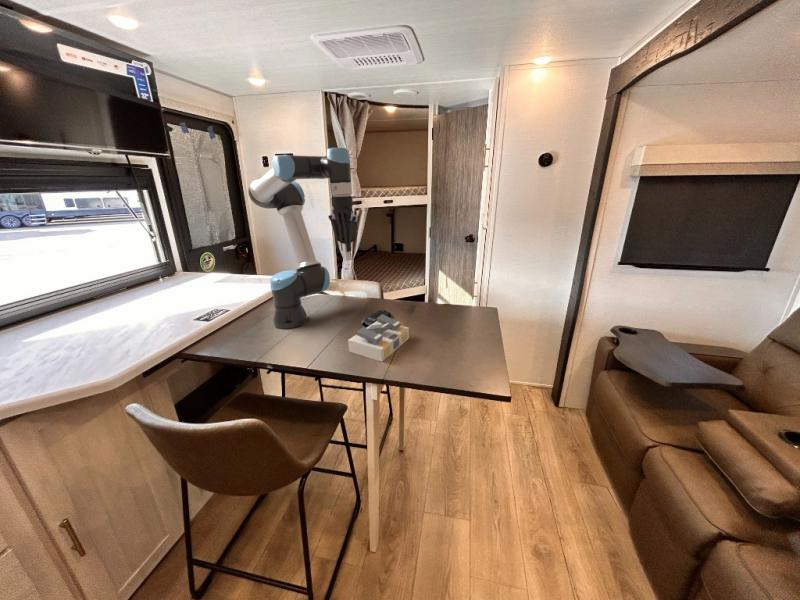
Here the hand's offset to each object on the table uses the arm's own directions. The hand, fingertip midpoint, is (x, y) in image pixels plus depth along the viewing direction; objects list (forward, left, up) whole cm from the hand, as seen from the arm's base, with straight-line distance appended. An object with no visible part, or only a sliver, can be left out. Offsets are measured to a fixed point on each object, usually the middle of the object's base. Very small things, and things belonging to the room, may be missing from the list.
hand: (347, 259), depth 120 cm
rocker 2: (+15, -2, -26) cm, 30 cm away
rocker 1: (+15, -9, -26) cm, 31 cm away
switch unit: (+15, -2, -32) cm, 36 cm away
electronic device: (+1, +15, -33) cm, 36 cm away
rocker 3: (+15, +4, -26) cm, 30 cm away
